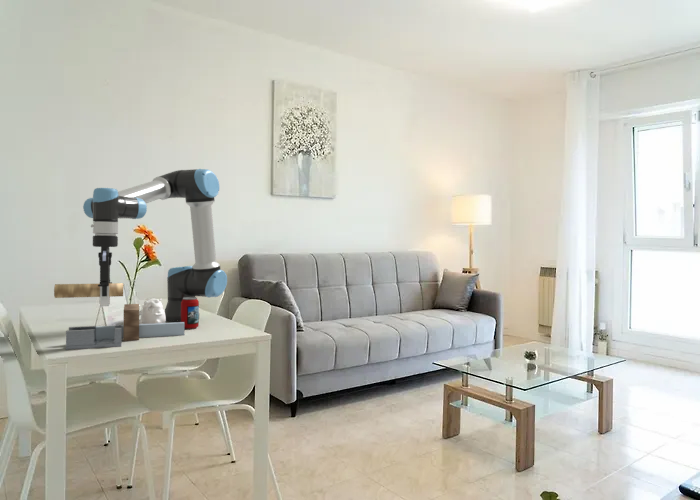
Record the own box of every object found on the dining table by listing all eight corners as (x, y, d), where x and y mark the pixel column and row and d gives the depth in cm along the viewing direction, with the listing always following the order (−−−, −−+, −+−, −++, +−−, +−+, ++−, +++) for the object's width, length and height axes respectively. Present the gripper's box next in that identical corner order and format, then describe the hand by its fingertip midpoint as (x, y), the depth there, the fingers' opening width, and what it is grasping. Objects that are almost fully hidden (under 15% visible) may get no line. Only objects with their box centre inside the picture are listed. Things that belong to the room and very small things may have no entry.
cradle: (121, 341, 177) (121, 324, 177) (121, 346, 169) (121, 328, 169) (69, 344, 171) (69, 326, 171) (65, 349, 163) (65, 331, 162)
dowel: (123, 295, 175) (123, 283, 175) (123, 296, 171) (123, 283, 171) (56, 297, 167) (56, 284, 167) (54, 298, 163) (54, 284, 163)
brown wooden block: (138, 331, 195) (138, 303, 195) (139, 340, 179) (139, 309, 179) (124, 332, 193) (124, 304, 193) (123, 341, 177) (123, 310, 177)
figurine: (147, 326, 207) (147, 296, 207) (170, 327, 206) (170, 297, 206) (134, 330, 197) (134, 299, 197) (158, 331, 196) (158, 300, 196)
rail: (183, 333, 192) (183, 322, 192) (184, 334, 190) (184, 323, 190) (94, 338, 180) (94, 326, 180) (93, 340, 178) (93, 327, 178)
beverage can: (193, 329, 200) (193, 299, 200) (177, 329, 202) (177, 298, 201) (201, 327, 207) (201, 297, 207) (186, 326, 208) (186, 296, 208)
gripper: (94, 234, 177) (94, 302, 177) (90, 234, 161) (90, 309, 161) (118, 235, 180) (118, 301, 180) (116, 235, 164) (116, 308, 164)
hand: (104, 305), depth 171 cm, fingers closed on dowel, 4 cm apart
